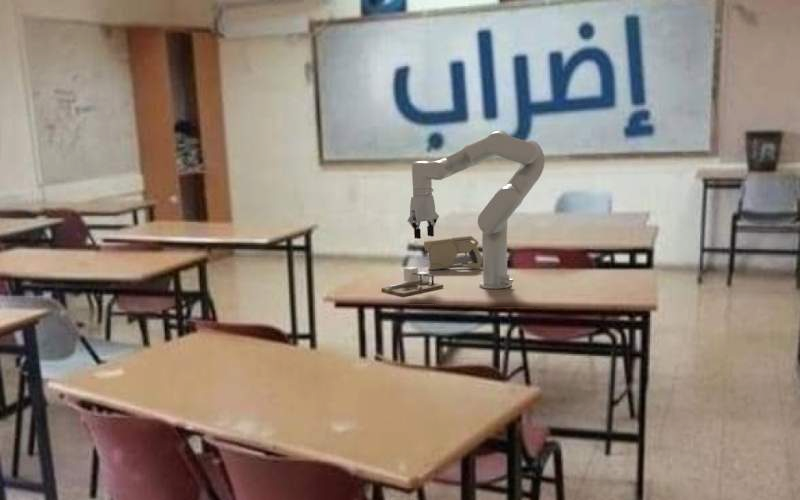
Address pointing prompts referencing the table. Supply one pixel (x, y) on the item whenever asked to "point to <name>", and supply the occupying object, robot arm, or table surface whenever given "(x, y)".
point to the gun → (452, 252)
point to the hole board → (413, 289)
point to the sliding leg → (412, 275)
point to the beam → (424, 280)
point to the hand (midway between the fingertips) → (424, 236)
